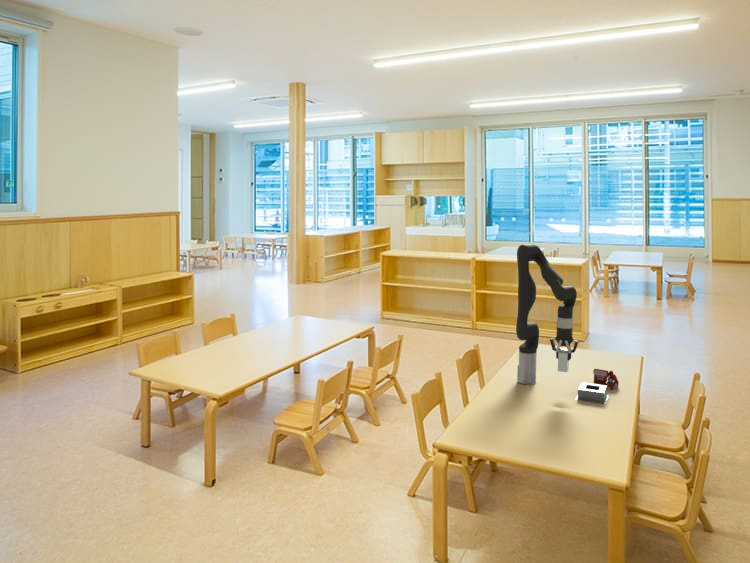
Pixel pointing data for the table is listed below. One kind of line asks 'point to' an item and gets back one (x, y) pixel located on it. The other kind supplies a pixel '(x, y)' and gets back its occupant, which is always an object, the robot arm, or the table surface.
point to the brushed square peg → (563, 360)
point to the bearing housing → (592, 393)
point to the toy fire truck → (605, 378)
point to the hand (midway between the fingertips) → (563, 359)
